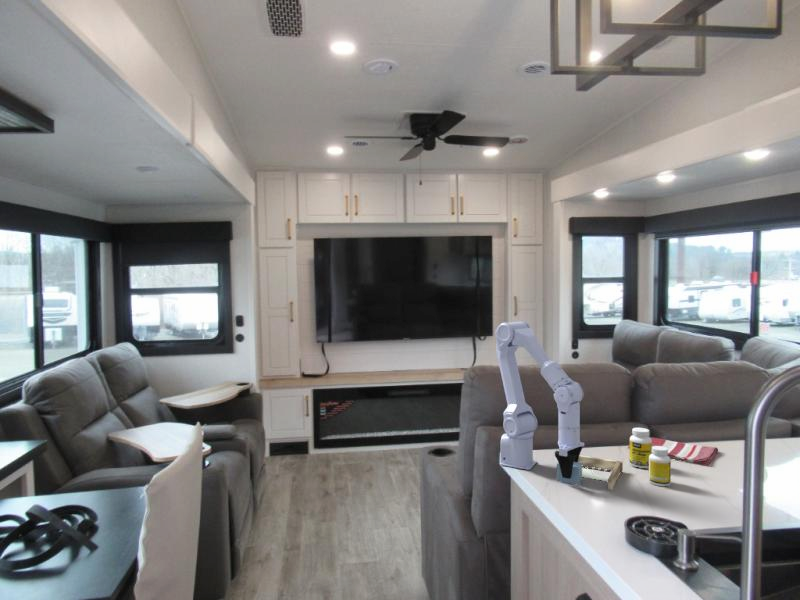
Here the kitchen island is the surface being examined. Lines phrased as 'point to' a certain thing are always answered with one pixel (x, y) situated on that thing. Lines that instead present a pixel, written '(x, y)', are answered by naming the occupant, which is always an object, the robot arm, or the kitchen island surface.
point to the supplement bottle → (659, 466)
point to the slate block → (575, 476)
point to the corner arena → (603, 464)
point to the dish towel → (686, 451)
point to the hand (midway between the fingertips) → (569, 473)
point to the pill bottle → (640, 448)
